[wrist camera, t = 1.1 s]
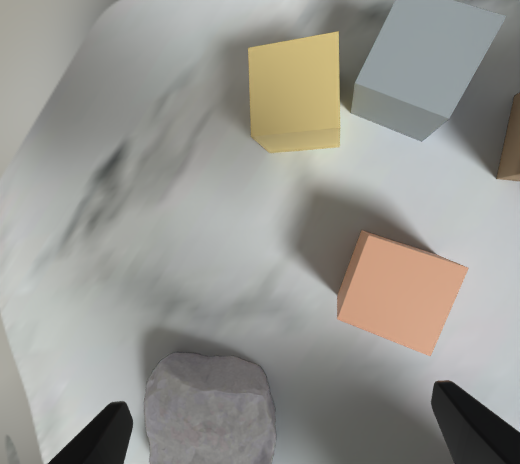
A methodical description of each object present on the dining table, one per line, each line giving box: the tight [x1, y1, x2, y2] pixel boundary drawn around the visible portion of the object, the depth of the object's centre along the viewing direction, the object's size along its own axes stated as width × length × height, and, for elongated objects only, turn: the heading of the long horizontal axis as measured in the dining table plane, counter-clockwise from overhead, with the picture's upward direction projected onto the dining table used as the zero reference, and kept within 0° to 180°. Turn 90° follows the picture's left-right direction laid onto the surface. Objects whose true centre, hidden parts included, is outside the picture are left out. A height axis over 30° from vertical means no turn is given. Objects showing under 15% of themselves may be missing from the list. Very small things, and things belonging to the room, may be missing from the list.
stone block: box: [144, 352, 276, 464], centre depth 23 cm, size 12×5×10 cm
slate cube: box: [351, 0, 507, 142], centre depth 17 cm, size 5×5×5 cm
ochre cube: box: [248, 31, 340, 153], centre depth 19 cm, size 5×5×5 cm
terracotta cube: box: [337, 230, 468, 356], centre depth 18 cm, size 5×5×5 cm
